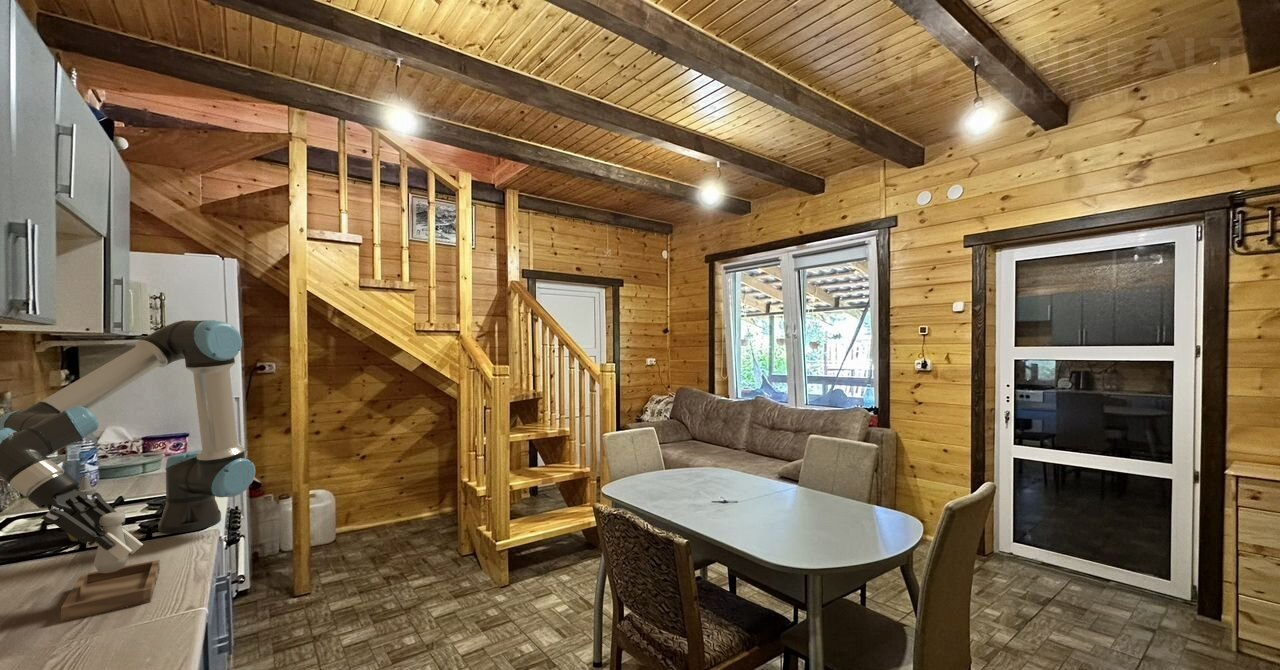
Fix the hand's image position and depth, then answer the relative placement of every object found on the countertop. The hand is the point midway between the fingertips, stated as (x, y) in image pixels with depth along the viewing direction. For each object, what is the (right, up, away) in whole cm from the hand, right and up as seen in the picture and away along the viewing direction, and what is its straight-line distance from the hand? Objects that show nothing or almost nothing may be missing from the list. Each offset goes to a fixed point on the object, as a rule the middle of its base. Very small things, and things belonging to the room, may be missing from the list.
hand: (131, 552), depth 125 cm
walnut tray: (-4, -10, 0) cm, 10 cm away
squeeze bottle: (-45, -9, +32) cm, 56 cm away
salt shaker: (-4, -4, -1) cm, 6 cm away
